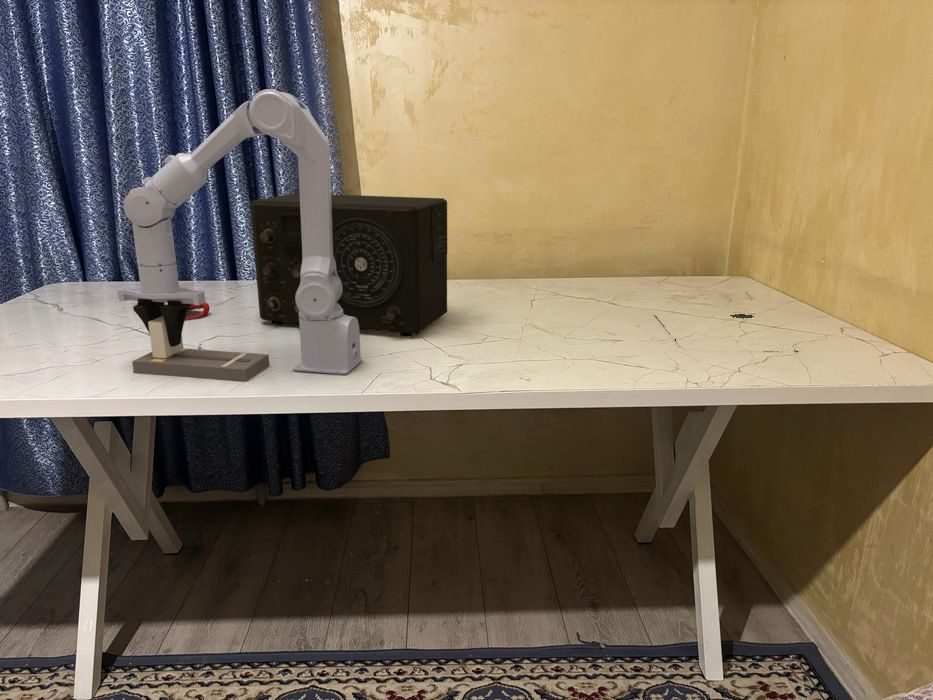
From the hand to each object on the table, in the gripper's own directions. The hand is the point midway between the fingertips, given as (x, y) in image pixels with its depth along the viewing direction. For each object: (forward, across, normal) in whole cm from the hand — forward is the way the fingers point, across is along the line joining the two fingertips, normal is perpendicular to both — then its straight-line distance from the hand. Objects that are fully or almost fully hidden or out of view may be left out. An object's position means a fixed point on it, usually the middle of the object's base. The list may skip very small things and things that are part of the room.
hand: (167, 344), depth 118 cm
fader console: (+4, -6, 0) cm, 7 cm away
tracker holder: (+4, +18, -30) cm, 35 cm away
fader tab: (+1, 0, 0) cm, 1 cm away
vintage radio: (+4, -19, -34) cm, 39 cm away
